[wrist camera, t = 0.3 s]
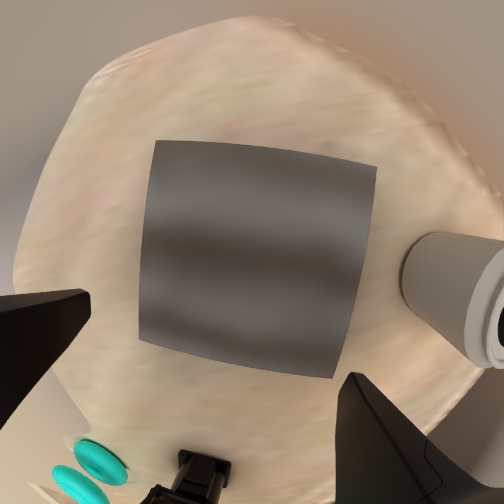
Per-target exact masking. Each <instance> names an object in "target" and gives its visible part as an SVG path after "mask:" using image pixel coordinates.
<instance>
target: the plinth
mask: <svg viewBox="0 0 504 504" xmlns="http://www.w3.org/2000/svg"><path fill="white" fill-rule="evenodd" d="M376 172H377V167H375V166H370V165H366V164H362V163H357V162H352V161H348V160H343V159H338V158H332V157H327V156H322V155H316V154H310V153H304V152H297V151H291V150H284V149H276V148H268V147H260V146H250V145H240V144H229V143H215V142H198V141H170V140H156V143H155V148H154V154H153V159H152V165H151V171H150V178H149V184H148V192H147V199H146V207H145V216H144V225H143V236H142V248H141V262H140V282H139V340H142V341H145V342H148V343H151V344H155V345H158V346H162V347H165V348H169V349H172V350H176V351H179V352H183V353H187V354H191V355H195V356H199V357H203V358H207V359H212V360H216V361H221V362H225V363H230V364H235V365H240V366H245V367H251V368H256V369H262V370H268V371H274V372H281V373H287V374H295V375H302V376H311V377H320V378H330V379H333V376H334V373H335V370H336V367H337V364H338V360H339V357H340V354H341V351H342V347H343V344H344V340H345V337H346V333H347V330H348V326H349V322H350V318H351V315H352V311H353V307H354V303H355V298H356V294H357V290H358V285H359V281H360V276H361V271H362V266H363V261H364V256H365V251H366V245H367V240H368V234H369V227H370V221H371V214H372V207H373V199H374V191H375V182H376Z"/></svg>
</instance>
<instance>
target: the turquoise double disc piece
mask: <svg viewBox="0 0 504 504" xmlns="http://www.w3.org/2000/svg"><path fill="white" fill-rule="evenodd" d="M74 454H75V457H76V459H77V461H78V463H79V464H80V465H81V467H82V468H83V469H84V470H85V471H86V472H87V473H89V474H90V475H91V476H92V477H94V478H96V479H97V480H99V481H101V482H103V483H105V484H108V485H112V486H120V485H123V484H124V483H126V481H127V478H128V475H127V472H126V469H125V468H124V466H123V465H122V464H121V463H120V461H119V460H118V459H117V458H115V457H114V456H113V455H112V454H111V453H109V452H108V451H107V450H105V449H104V448H102V447H100V446H99V445H97V444H94V443H92V442H88V441H80V442H78V443H77V444H76V445H75V447H74ZM52 475H53V478H54V480H55V482H56V483H57V484H58V485H59V487H60V488H61V489H62V490H63V491H64V492H65V493H67V494H68V495H69V496H70V497H71V498H73V499H74V500H76V501H77V502H78V503H80V504H110V503H109V500H108V498H107V496H106V495H105V493H104V492H103V491H102V490H101V489H100V488H99V487H98V486H97V485H96V484H95V483H94V482H92V481H91V480H90V479H88V478H87V477H86V476H84V475H83V474H81V473H80V472H78V471H76V470H75V469H72V468H70V467H67V466H63V465H58V466H56V467H54V468H53V470H52Z"/></svg>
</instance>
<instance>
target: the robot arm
mask: <svg viewBox="0 0 504 504" xmlns="http://www.w3.org/2000/svg"><path fill="white" fill-rule="evenodd" d="M90 316H91V302H90V294H89V293H88V292H87V291H85V290H83V289H70V290H60V291H50V292H40V293H29V294H18V295H6V296H0V430H1V429H2V427H3V426H4V425H5V423H6V422H7V420H8V419H9V418H10V416H11V415H12V414H13V412H14V411H15V410H16V408H17V407H18V406H19V404H20V403H21V402H22V401H23V399H24V398H25V397H26V396H27V394H28V393H29V392H30V391H31V390H32V388H33V387H34V386H35V385H36V384H37V382H38V381H39V380H40V379H41V377H42V376H43V375H44V374H45V373H46V372H47V371H48V369H49V368H50V367H51V366H52V365H53V364H54V362H55V361H56V360H57V359H58V358H59V357H60V356H61V355H62V353H63V352H64V351H65V350H66V349H67V348H68V347H69V345H70V344H71V343H72V341H73V340H74V339H75V337H76V336H77V334H78V333H79V332H80V330H81V329H82V328H83V326H84V325H85V324H86V322H87V321H88V320H89V318H90ZM335 452H336V500H335V504H504V488H493V487H488V486H485V485H483V484H481V483H480V482H478V481H477V480H476V479H474V478H473V477H472V476H470V475H469V474H468V473H467V472H465V471H464V470H463V469H461V468H460V467H459V466H458V465H457V464H455V463H454V462H453V461H452V460H451V459H449V458H448V457H447V456H446V455H444V454H443V452H441V451H440V450H439V449H438V448H437V447H436V446H435V445H434V444H433V443H432V442H431V441H430V440H429V439H427V437H426V436H425V435H424V434H423V433H422V432H421V431H420V430H419V429H418V428H417V427H416V426H415V425H414V424H413V423H412V422H411V421H410V420H409V419H408V418H407V417H406V416H405V415H404V414H403V413H402V412H401V411H400V410H399V409H398V408H397V407H396V406H395V405H394V404H393V403H392V402H391V401H390V400H389V399H388V398H387V397H386V396H385V395H384V394H383V393H382V392H381V391H380V390H379V389H378V388H377V387H376V386H375V385H374V384H373V383H372V382H371V381H370V380H369V379H368V378H367V377H366V376H365V375H364V374H362V373H356V372H351V373H349V375H348V376H347V378H346V380H345V382H344V384H343V385H342V387H341V389H340V391H339V394H338V405H337V419H336V431H335ZM178 459H179V472H178V474H177V476H176V478H175V480H174V482H173V484H172V487H171V489H168V488H165V487H162V486H161V485H159V484H156V486H155V487H154V488H151V490H150V492H149V494H148V495H147V497H146V498H145V499H144V500H143V501H142V502H141V503H140V504H218V501H219V498H220V494H221V491H222V488H226V487H227V484H228V479H229V474H230V469H231V463H229V462H226V461H222V460H217V459H213V458H209V457H205V456H201V455H197V454H193V453H190V452H186V451H183V450H180V451H179V453H178Z"/></svg>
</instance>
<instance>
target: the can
mask: <svg viewBox="0 0 504 504" xmlns="http://www.w3.org/2000/svg"><path fill="white" fill-rule="evenodd" d="M402 290H403V294H404V299H405V301H406V303H407V304H408V306H409V308H410V309H411V310H412V311H413V312H414V313H415V314H417V315H418V316H419V317H420V318H421V319H423V320H424V321H425V322H426V323H427V324H429V325H430V326H431V327H432V328H433V329H434V330H436V331H437V332H438V333H439V334H440V335H441V336H443V337H444V338H445V339H446V340H447V341H448V342H450V343H451V344H452V345H453V346H454V347H455V348H456V349H457V350H459V351H460V352H461V353H462V354H463V355H464V356H465V357H466V358H467V359H469V360H470V361H471V362H472V363H473V364H475V365H476V366H477V367H483V368H490V367H492V366H494V367H495V368H496V369H504V241H501V240H495V239H489V238H483V237H476V236H469V235H463V234H455V233H448V232H434V233H432V234H430V235H427V236H425V237H423V238H422V239H421V240H420V241H419V242H418V243H417V244H416V245H415V246H414V247H413V249H412V250H411V252H410V254H409V255H408V257H407V259H406V262H405V266H404V269H403V272H402Z"/></svg>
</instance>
